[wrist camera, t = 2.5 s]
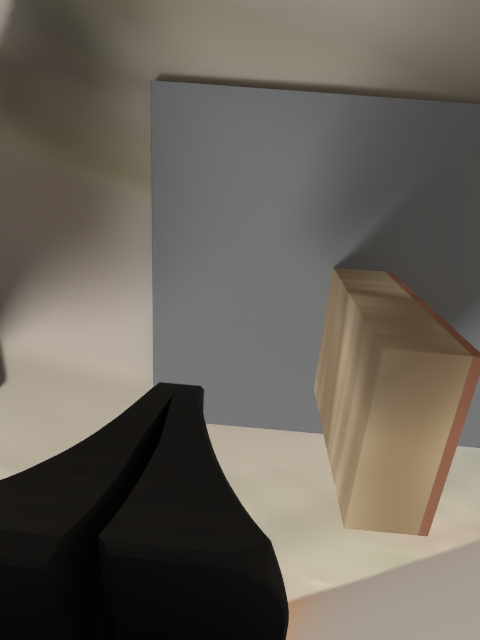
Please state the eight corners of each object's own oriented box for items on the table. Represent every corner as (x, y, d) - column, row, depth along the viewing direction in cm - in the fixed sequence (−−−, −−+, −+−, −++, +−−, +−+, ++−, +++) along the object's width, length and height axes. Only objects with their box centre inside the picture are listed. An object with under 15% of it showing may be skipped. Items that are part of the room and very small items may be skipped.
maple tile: (313, 389, 20) (344, 528, 13) (333, 267, 18) (383, 349, 10) (366, 393, 20) (427, 536, 12) (392, 272, 18) (485, 357, 10)
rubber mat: (155, 414, 21) (153, 418, 21) (153, 82, 16) (150, 80, 15) (549, 449, 21) (554, 454, 21) (689, 120, 15) (700, 119, 15)
